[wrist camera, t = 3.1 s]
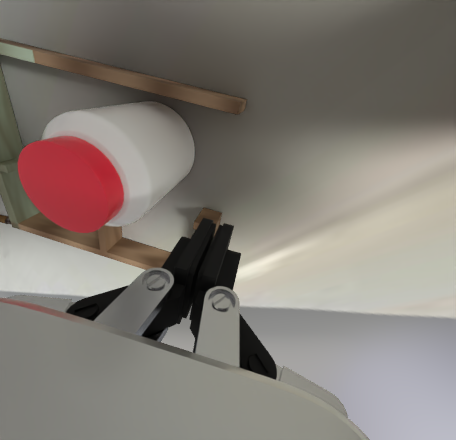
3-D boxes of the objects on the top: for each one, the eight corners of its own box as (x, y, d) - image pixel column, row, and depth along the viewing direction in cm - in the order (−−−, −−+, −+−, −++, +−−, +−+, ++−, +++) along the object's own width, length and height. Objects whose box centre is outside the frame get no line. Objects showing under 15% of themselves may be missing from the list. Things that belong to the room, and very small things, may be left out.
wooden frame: (246, 99, 19) (240, 102, 16) (209, 269, 29) (201, 288, 26) (-18, 33, 20) (-62, 26, 18) (35, 215, 31) (12, 227, 28)
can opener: (-16, 214, 33) (-26, 217, 32) (-22, 200, 32) (-32, 203, 31) (41, 233, 33) (33, 238, 32) (37, 220, 32) (29, 224, 31)
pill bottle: (146, 79, 19) (17, 76, 10) (212, 149, 21) (153, 201, 12) (105, 143, 23) (-15, 184, 14) (164, 198, 25) (91, 267, 16)
